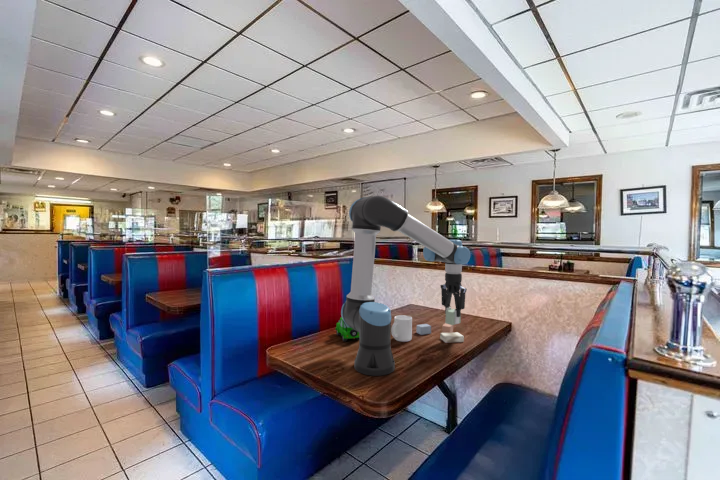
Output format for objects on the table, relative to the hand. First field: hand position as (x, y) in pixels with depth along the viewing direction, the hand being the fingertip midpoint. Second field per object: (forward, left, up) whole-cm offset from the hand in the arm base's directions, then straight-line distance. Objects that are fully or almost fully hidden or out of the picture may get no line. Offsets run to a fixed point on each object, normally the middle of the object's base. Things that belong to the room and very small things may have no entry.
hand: (452, 322), depth 162 cm
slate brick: (-3, +15, -9) cm, 18 cm away
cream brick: (0, 0, -9) cm, 9 cm away
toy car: (-39, +30, -9) cm, 50 cm away
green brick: (0, 0, 0) cm, 1 cm away
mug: (-20, +14, -9) cm, 26 cm away
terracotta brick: (+8, +9, -9) cm, 15 cm away
